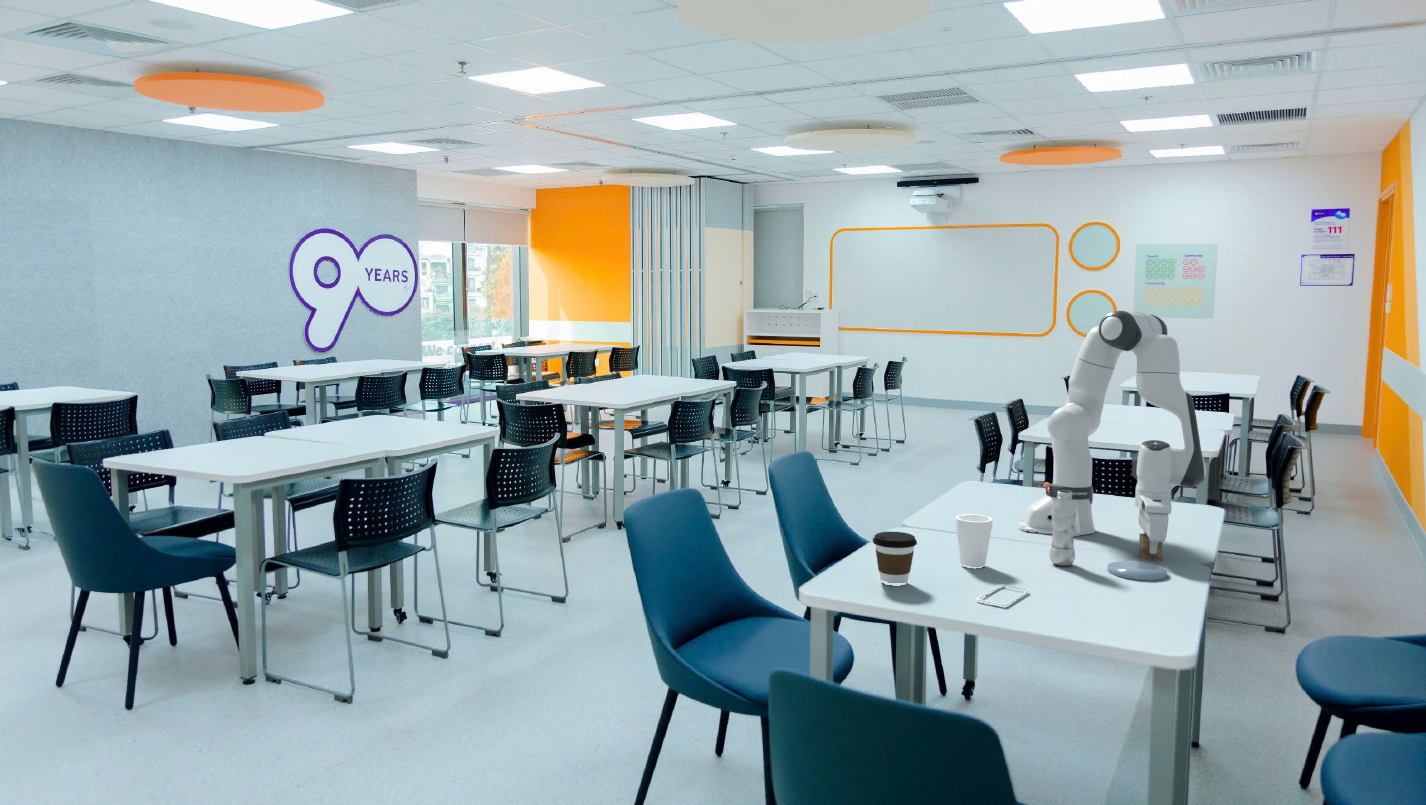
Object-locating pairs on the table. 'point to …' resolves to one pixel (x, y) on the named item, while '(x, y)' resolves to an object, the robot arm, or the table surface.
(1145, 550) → the walnut block
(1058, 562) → the plastic bottle
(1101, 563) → the table surface
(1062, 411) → the robot arm
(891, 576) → the coffee cup
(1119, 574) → the dish
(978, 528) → the foam cup
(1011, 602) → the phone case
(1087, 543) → the table surface
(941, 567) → the table surface
